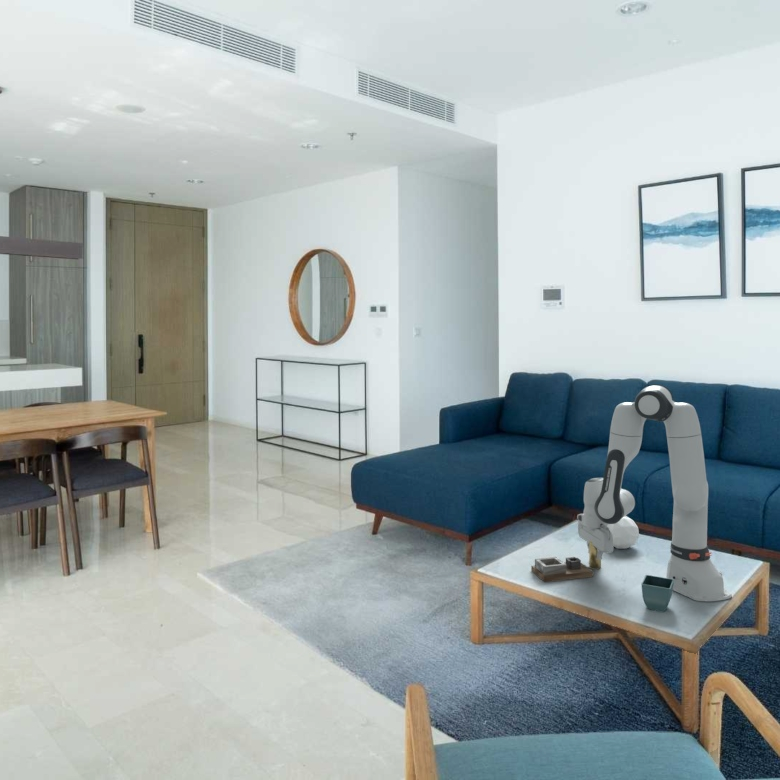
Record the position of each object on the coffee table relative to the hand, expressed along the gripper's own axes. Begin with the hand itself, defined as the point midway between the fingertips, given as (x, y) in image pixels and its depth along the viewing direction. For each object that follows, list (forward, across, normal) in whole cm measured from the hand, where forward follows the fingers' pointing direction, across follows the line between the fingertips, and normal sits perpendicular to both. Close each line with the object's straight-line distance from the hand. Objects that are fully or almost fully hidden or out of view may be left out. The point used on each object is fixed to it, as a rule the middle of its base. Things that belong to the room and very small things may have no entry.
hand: (595, 556), depth 258 cm
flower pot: (+4, -38, -1) cm, 38 cm away
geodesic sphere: (+4, +17, -21) cm, 27 cm away
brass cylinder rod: (+4, 0, 0) cm, 4 cm away
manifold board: (+4, -3, +15) cm, 16 cm away
